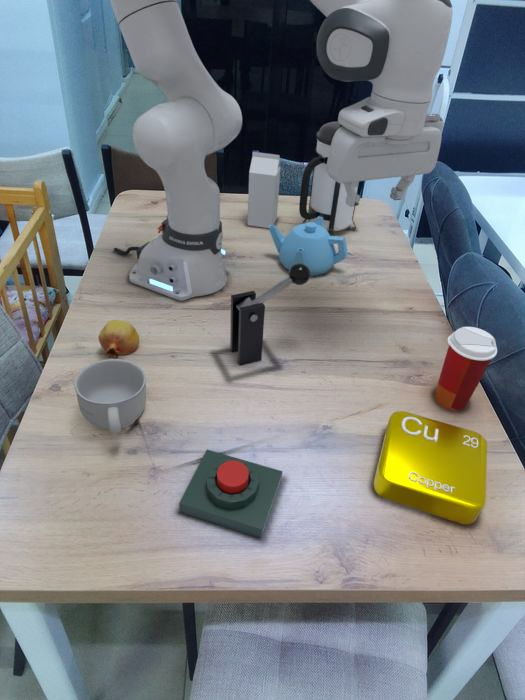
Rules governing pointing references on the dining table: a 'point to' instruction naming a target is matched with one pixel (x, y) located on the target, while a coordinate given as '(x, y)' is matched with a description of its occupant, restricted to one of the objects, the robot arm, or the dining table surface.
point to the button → (232, 477)
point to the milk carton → (263, 189)
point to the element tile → (433, 467)
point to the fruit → (118, 338)
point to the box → (231, 495)
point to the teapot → (309, 247)
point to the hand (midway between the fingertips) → (374, 201)
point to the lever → (281, 285)
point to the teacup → (111, 393)
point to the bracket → (246, 329)
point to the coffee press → (325, 188)
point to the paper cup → (464, 366)
